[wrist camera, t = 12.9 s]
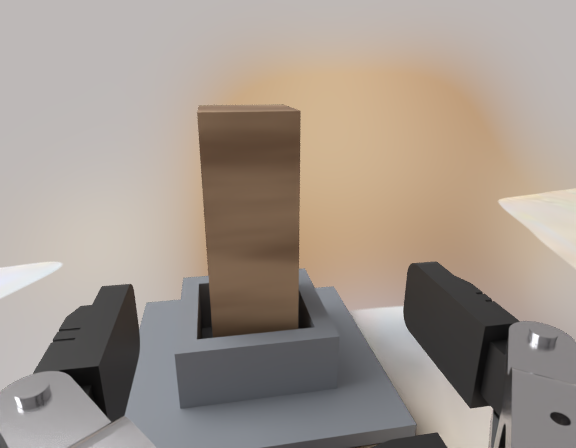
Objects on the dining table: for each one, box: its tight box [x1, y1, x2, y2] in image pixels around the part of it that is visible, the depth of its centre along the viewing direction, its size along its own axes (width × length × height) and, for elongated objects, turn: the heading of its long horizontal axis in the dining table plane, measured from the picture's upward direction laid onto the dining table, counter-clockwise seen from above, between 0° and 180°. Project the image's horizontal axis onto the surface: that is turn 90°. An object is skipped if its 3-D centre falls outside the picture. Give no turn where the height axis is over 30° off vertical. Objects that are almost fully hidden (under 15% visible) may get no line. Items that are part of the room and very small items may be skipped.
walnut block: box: [197, 105, 300, 338], centre depth 23 cm, size 4×4×14 cm
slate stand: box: [125, 269, 416, 448], centre depth 25 cm, size 14×14×4 cm
